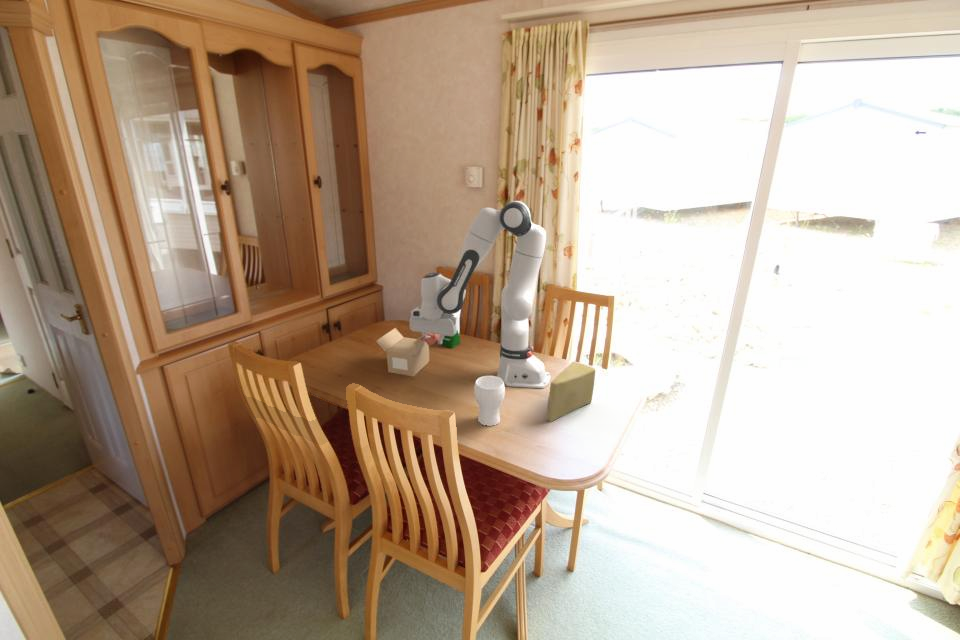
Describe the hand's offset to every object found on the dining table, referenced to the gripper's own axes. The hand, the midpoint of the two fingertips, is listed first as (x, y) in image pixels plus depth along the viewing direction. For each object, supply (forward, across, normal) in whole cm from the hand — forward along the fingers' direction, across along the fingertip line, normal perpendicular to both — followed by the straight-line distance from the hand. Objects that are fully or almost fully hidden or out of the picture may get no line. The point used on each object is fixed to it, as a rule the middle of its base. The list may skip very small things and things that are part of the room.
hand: (433, 342), depth 184 cm
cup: (+13, -34, +29) cm, 46 cm away
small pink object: (0, +6, 0) cm, 6 cm away
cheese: (+13, -58, +13) cm, 61 cm away
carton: (+13, +12, 0) cm, 18 cm away
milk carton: (+13, +4, -29) cm, 32 cm away
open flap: (+1, +20, 0) cm, 21 cm away
